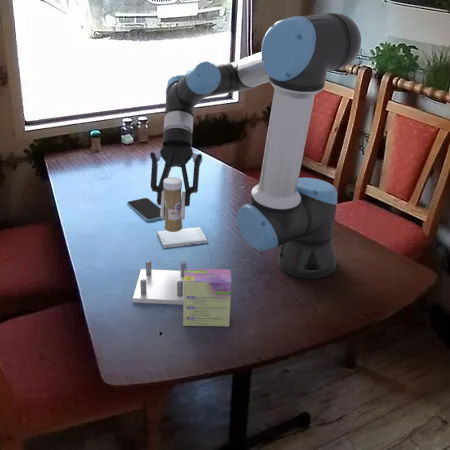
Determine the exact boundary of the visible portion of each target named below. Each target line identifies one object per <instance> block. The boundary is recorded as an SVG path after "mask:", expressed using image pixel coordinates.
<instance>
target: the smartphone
mask: <svg viewBox="0 0 450 450" xmlns="http://www.w3.org/2000/svg"><path fill="white" fill-rule="evenodd" d="M126 205H128V207H129V208H130V209H131V210H133V211H134V212H135V213H136V214H137V215H138V216H139V217H141V219H143V220H144V221H145V222H147V223H151V222H155V221H160V220H162V219H161V217H160V210H161V206H160V205H158V204H157V203H155V202H154V201H153V200H151V199H150V198H148V197H141V198H137V199H133V200H129V201H127V202H126ZM164 219H165V215H164Z"/></svg>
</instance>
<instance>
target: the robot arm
mask: <svg viewBox="0 0 450 450" xmlns="http://www.w3.org/2000/svg"><path fill="white" fill-rule="evenodd" d="M361 34H362V33H361V31H360V28H359V27H358V24H356V21H354V20H353V19H352V18H351V17H349V16H348V15H345V14H343V13H338V12H328V13H327V12H326V13H321V14H311V15H303V16H302V15H301V16H300V15H296V16H291V17H288V18H284V19H281V20H278V21H276V22H274V24H273V25H271V26H270V27H269V28H268V30H267V31H266V33H265V35H264V36H263V39H262V42H261V49H260V52H257V53H255V54H251V55H250V56H247V57H243V58H241V59H239V60H235V61H233V62H227V63H222V64H221V63H220V64H215V63H213V62H209V61H208V60H203V61H199V62H197V63H196V64H195V65H193V66H192V67H191V68H190V69H189V70H188V71H187V72H186V73H185V74H176V75H175V76H174V75H173V76H171V77H170V78H168V80H167V83H166V84H167V85H166V90H165V109H164V119H163V135H162V147H161V148H160V151H158V152H152V151H151V152H150V153H149V155H150V158H151V170H150V171H151V174H150V189H151V191H152V192H155V193H157V194H156V205H157V206H160V208H161V210H160V217H161V219H160V220H165V218H164V215H165V212H164V187H163V181H164V179H166V178H169V177H170V176H169V175H170V172H171V171H172V168H175V167H176V168H180V169H181V172H182V173H181V174H182V179H183V180H182V181H183V184H184V191H181V197H182V203H181V220H182V221H184V220H185V218H186V217H185V216H186V207H190V205H191V194H196V193H198V191H199V179H200V178H199V177H200V166H201V164H202V162H203V154H201V153H195V152H194V150H193V149H192V146H193V132H194V131H193V130H194V115H195V114H194V111H195V106H196V105H198V104H199V103H200V102H202V101H203V100H204V99H206V98H209V97H213V96H219V95H225V94H230V93H236V92H241V91H249V90H251V89H254V88H256V87H257V86H261V85H263V84H266V83H267V84H268V83H269V84H271V86H272V87H273V88H274V89H273V96H272V102H271V107H270V109H271V110H270V116H269V122H268V128H267V133H266V134H267V135H266V139H265V147H264V153H263V160H262V166H261V171H260V178H259V183H257V184H256V185H255V186H253V188H252V189H251V193H250V200H249V203H245V204H244V205H242V206H241V207H240V208H239V209H238V212H237V225H238V228H239V231H240V233H241V235H242V238H243V239H244V240H245V241H246V243H247V244H248V245H249V246H250V247H251V248H253V249H255V250H257V251H261V252H263V251H264V252H265V251H267V250H272V249H275V248H277V247H279V246H280V249H279V251H278V254H277V265H278V267H279V268H280V269H281V271H282V272H284V273H286V274H287V275H290V276H292V277H295V278H299V279H306V280H318V279H324V278H327V277H329V276H331V275H333V273H334V272H335V270H336V267H337V256H336V253H335V248H334V247H335V246H334V244H333V243H334V242H333V234H334V228H335V220H336V212H337V206H338V190H337V188H336V187H335V186H334V185H332V184H331V183H330V182H328V181H325V180H321V179H319V178H312V177H300V172H301V167H302V162H303V157H304V152H305V148H306V147H305V146H306V144H307V143H306V141H307V136H308V131H309V126H310V121H311V116H312V111H313V107H314V100H315V96H316V95H317V94H318V93H320V92H322V91H323V90H324V87H325V82H326V79H327V73H328V72H333V71H337V70H341V69H344V68H346V67H347V66H349V65H350V64H351V63H352V62H354V60H355V59H356V58H357V56H358V55H359V53H360V51H361V47H362V35H361ZM161 158H162V159H163V161H164V167H163V170H162V172H161V173H162V174H161V177H160V179H159V182H158V171H159V170H158V168H159V167H158V166H159V165H158V162H159V161H161V160H160V159H161ZM191 159H192V162H193V163H194V164H193V175H192V185H191V186H190V182H189V177H188V176H189V175H188V172H187V164H188V163H189V162H190V160H191ZM157 183H158V184H157Z"/></svg>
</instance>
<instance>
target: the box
mask: <svg viewBox="0 0 450 450" xmlns="http://www.w3.org/2000/svg"><path fill="white" fill-rule="evenodd" d="M231 271H232V270H231V269H225V268H223V269H220V268H186V269H184V289H183V305H182V307H183V308H182V309H183V311H182V312H183V313H182V317H183V318H182V325H183V326H184V327H225V328H226V327H227V328H228V327H230V324H231V323H230V321H231V318H230V317H231V303H232V301H231V300H232V273H231Z"/></svg>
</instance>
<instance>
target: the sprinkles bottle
mask: <svg viewBox="0 0 450 450" xmlns="http://www.w3.org/2000/svg"><path fill="white" fill-rule="evenodd" d="M163 187H164V212H165V218H164V231H169V232H177V231H180V230H181V229H183V220H181V203H182V189H183V180H182V179H181V178H179V177H175V176H168V178H166V179H164V181H163Z"/></svg>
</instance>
